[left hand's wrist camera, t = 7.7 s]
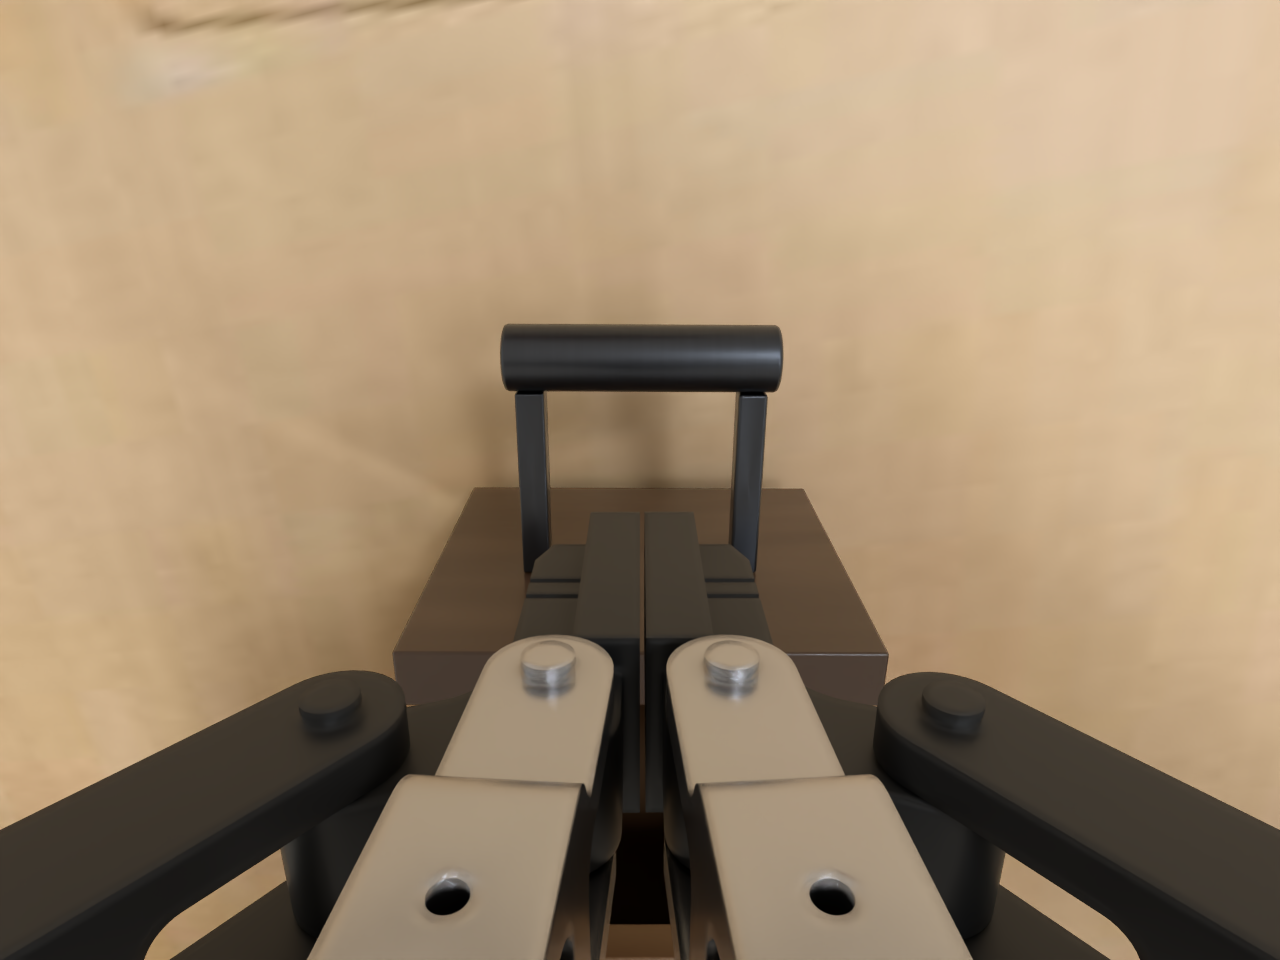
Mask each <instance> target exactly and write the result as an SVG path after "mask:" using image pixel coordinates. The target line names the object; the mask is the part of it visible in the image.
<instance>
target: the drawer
mask: <svg viewBox="0 0 1280 960" xmlns="http://www.w3.org/2000/svg"><path fill="white" fill-rule="evenodd" d="M500 364H501V375H502V381H503V384H504V387H505V389H506V390H508V391H517V392H516V394H515V409H516V429H517V449H518V469H519V488H474V489H473V491H472V493H471V495H470V497H469V499H468V501H467V503H466V505H465V507H464V510H463V512H462V514H461V516H460V518H459V520H458V522H457V524H456V526H455V528H454V530H453V532H452V534H451V536H450V538H449V540H448V542H447V544H446V546H445V548H444V550H443V552H442V554H441V556H440V558H439V560H438V562H437V564H436V566H435V568H434V570H433V572H432V574H431V576H430V578H429V580H428V582H427V584H426V586H425V588H424V590H423V592H422V594H421V596H420V598H419V600H418V602H417V604H416V606H415V608H414V610H413V612H412V614H411V616H410V619H409V621H408V623H407V625H406V627H405V629H404V631H403V633H402V635H401V637H400V639H399V641H398V643H397V645H396V647H395V649H394V651H393V653H392V654H393V662H394V671H395V679H396V682H397V683H398V684H399V685H400V686H401V688H402V689H403V692H404V694H405V701H406V705H421V704H426V703H431V702H436V701H441V700H445V699H449V698H453V697H457V696H460V695H462V694H465V693H468V692H470V691H472V690H474V688H475V686H476V683H477V681H478V679H479V677H480V674H481V672H482V670H483V668H484V666H485V664H486V662H487V661H488V659H489V658H490V657H491V656H492V655H493V654H494V653H496V652H497V651H498V650H500V649H501V648H503V647H505V646H507V645H508V644H511V643H513V640H514V636H515V633H516V629H517V625H518V622H519V618H520V614H521V611H522V607H523V603H524V600H525V598H526V592H527V589H528V585H529V583H530V578H531V574H532V570H533V567H534V563H535V560H536V559H537V558H538V557H540V556H541V555H542V554H543V553H544V552H546V551H547V550H548V549H549V548H550V547H551V546H553V545H554V544H586V540H587V533H588V527H589V520H590V513H591V512H640V813H622V834H621V840H620V843H619V846H618V848H617V850H616V878H615V886H614V894H613V901H612V909H611V917H610V924H670V917H669V909H668V901H667V894H666V886H665V878H664V814H663V812H646V800H645V687H644V512H694V517H695V523H696V530H697V536H698V542H699V544H731V545H732V546H733V547H734V548H735V549H737V550H738V551H739V552H740V553H741V554H743V555H744V556H745V557H746V558H747V559H749V561H750V565H751V568H752V572H753V575H754V581H755V582H756V586H757V589H758V593H759V598H760V600H761V603H762V607H763V610H764V614H765V617H766V621H767V624H768V628H769V631H770V635H771V638H772V642H773V645H774V646H775V647H777V648H779V649H780V650H782V651H783V652H784V653H786V654H787V655H788V656H789V657H790V658H791V659H792V661H793V662H794V664H795V666H796V668H797V670H798V672H799V674H800V677H801V679H802V681H803V683H804V686H806V687H808V688H810V689H812V690H814V691H816V692H819V693H821V694H824V695H827V696H830V697H834V698H838V699H842V700H847V701H852V702H857V703H862V704H867V705H872V706H877V704H878V696H879V694H880V691H881V690H882V688H883V687H884V686H885V678H886V671H887V664H888V656H889V654H888V652H887V650H886V648H885V646H884V644H883V642H882V640H881V638H880V636H879V634H878V632H877V630H876V628H875V627H874V625H873V623H872V621H871V619H870V617H869V615H868V613H867V611H866V609H865V607H864V605H863V603H862V601H861V599H860V598H859V596H858V594H857V592H856V590H855V588H854V586H853V584H852V582H851V580H850V578H849V576H848V574H847V572H846V570H845V569H844V567H843V565H842V563H841V561H840V559H839V557H838V555H837V553H836V551H835V549H834V547H833V545H832V543H831V541H830V540H829V538H828V536H827V534H826V532H825V530H824V528H823V526H822V524H821V522H820V520H819V518H818V516H817V514H816V512H815V511H814V509H813V507H812V505H811V503H810V501H809V499H808V497H807V495H806V493H805V491H804V489H762V476H763V461H764V445H765V430H766V415H767V399H768V397H767V395H766V393H765V392H775V391H777V390H778V388H779V385H780V382H781V377H782V370H783V340H782V334H781V331H780V328H779V327H778V326H776V325H621V324H507V325H505V326H504V328H503V331H502V335H501V344H500ZM547 391H606V392H736V402H735V422H734V441H733V461H732V481H731V489H702V488H550V472H549V444H548V417H547Z"/></svg>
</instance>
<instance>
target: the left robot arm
mask: <svg viewBox="0 0 1280 960" xmlns="http://www.w3.org/2000/svg"><path fill="white" fill-rule="evenodd" d="M644 687H645V800H646V812H663V814H664V878H665V886H666V894H667V901H668V909H669V917H670V925H671V933H672V940H673V948H674V956H675V960H1110V959H1109V958H1107V957H1106V956H1104V955H1103V954H1101V953H1100V952H1098V951H1097V950H1095V949H1094V948H1092V947H1091V946H1089V945H1088V944H1086V943H1085V942H1084V941H1082V940H1081V939H1079V938H1078V937H1076V936H1075V935H1073V934H1072V933H1070V932H1069V931H1067V930H1066V929H1064V928H1063V927H1061V926H1060V925H1059V924H1057V923H1056V922H1054V921H1053V920H1051V919H1050V918H1048V917H1047V916H1045V915H1044V914H1042V913H1041V912H1039V911H1038V910H1036V909H1035V908H1034V907H1032V906H1031V905H1029V904H1028V903H1026V902H1025V901H1023V900H1022V899H1020V898H1019V897H1017V896H1016V895H1014V894H1013V893H1011V892H1010V891H1009V890H1007V889H1006V888H1004V887H1003V886H1001V885H1000V884H999V882H1000V877H1001V872H1002V867H1003V862H1004V858H1005V853H1007V854H1009V855H1011V856H1012V857H1014V858H1015V859H1017V860H1018V861H1020V862H1021V863H1023V864H1024V865H1026V866H1028V867H1029V868H1031V869H1032V870H1034V871H1035V872H1037V873H1038V874H1040V875H1042V876H1043V877H1045V878H1046V879H1048V880H1049V881H1051V882H1052V883H1054V884H1055V885H1057V886H1059V887H1060V888H1062V889H1063V890H1065V891H1066V892H1068V893H1069V894H1071V895H1073V896H1074V897H1076V898H1077V899H1079V900H1080V901H1082V902H1083V903H1085V904H1086V905H1088V906H1090V907H1091V908H1093V909H1094V910H1096V911H1097V912H1099V913H1100V914H1102V915H1103V916H1105V917H1106V918H1108V919H1109V920H1110V921H1111V922H1113V923H1114V924H1115V925H1116V926H1117V927H1118V928H1119V929H1120V930H1121V931H1122V932H1123V933H1124V934H1125V935H1126V937H1127V938H1128V939H1129V941H1130V942H1131V943H1132V945H1133V946H1134V948H1135V950H1136V951H1137V954H1138V956H1139V958H1140V960H1280V830H1279V829H1277V828H1274V827H1272V826H1270V825H1268V824H1266V823H1264V822H1262V821H1260V820H1258V819H1256V818H1254V817H1252V816H1250V815H1248V814H1246V813H1244V812H1242V811H1240V810H1238V809H1236V808H1234V807H1232V806H1230V805H1228V804H1226V803H1224V802H1222V801H1220V800H1218V799H1216V798H1214V797H1212V796H1210V795H1208V794H1206V793H1204V792H1202V791H1200V790H1198V789H1196V788H1194V787H1192V786H1190V785H1188V784H1185V783H1183V782H1181V781H1179V780H1177V779H1175V778H1173V777H1171V776H1169V775H1167V774H1165V773H1163V772H1161V771H1159V770H1157V769H1155V768H1153V767H1151V766H1149V765H1147V764H1145V763H1143V762H1141V761H1139V760H1137V759H1135V758H1133V757H1131V756H1129V755H1127V754H1125V753H1123V752H1121V751H1119V750H1117V749H1115V748H1113V747H1111V746H1109V745H1107V744H1105V743H1103V742H1101V741H1099V740H1096V739H1094V738H1092V737H1090V736H1088V735H1086V734H1084V733H1082V732H1080V731H1078V730H1076V729H1074V728H1072V727H1070V726H1068V725H1066V724H1064V723H1062V722H1060V721H1058V720H1056V719H1054V718H1052V717H1050V716H1048V715H1046V714H1044V713H1042V712H1040V711H1038V710H1036V709H1034V708H1032V707H1030V706H1028V705H1026V704H1024V703H1022V702H1020V701H1018V700H1016V699H1014V698H1012V697H1010V696H1007V695H1005V694H1003V693H1001V692H999V691H997V690H995V689H993V688H991V687H989V686H987V685H985V684H982V683H980V682H978V681H975V680H972V679H969V678H965V677H961V676H957V675H953V674H946V673H937V672H919V673H912V674H907V675H903V676H899V677H897V678H895V679H893V680H891V681H890V682H888V683H887V684H886V685H885V686H884V687H883V688H882V690H881V691H880V694H879V696H878V704H877V706H872V705H867V704H862V703H857V702H852V701H847V700H842V699H838V698H834V697H830V696H827V695H824V694H821V693H819V692H816V691H814V690H812V689H810V688H808V687H806V686H804V683H803V681H802V679H801V677H800V674H799V672H798V670H797V668H796V666H795V664H794V662H793V661H792V659H791V658H790V657H789V656H788V655H787V654H786V653H784V652H783V651H782V650H780V649H779V648H777V647H775V646H774V645H773V642H772V638H771V635H770V631H769V628H768V624H767V621H766V617H765V614H764V610H763V607H762V603H761V600H760V598H759V593H758V589H757V586H756V582H755V581H754V575H753V572H752V568H751V565H750V561H749V559H747V558H746V557H745V556H744V555H743V554H741V553H740V552H739V551H738V550H737V549H735V548H734V547H733V546H732V545H731V544H699V542H698V536H697V530H696V523H695V517H694V512H644ZM622 813H640V512H591V513H590V520H589V527H588V533H587V540H586V544H554V545H553V546H551V547H550V548H549V549H548V550H547V551H546V552H544V553H543V554H542V555H541V556H540V557H538V558H537V559H536V560H535V563H534V567H533V570H532V574H531V578H530V583H529V585H528V589H527V592H526V598H525V600H524V603H523V607H522V611H521V614H520V618H519V622H518V625H517V629H516V633H515V636H514V640H513V643H511V644H508V645H507V646H505V647H503V648H501V649H500V650H498V651H497V652H496V653H494V654H493V655H492V656H491V657H490V658H489V659H488V661H487V662H486V664H485V666H484V668H483V670H482V672H481V674H480V677H479V679H478V681H477V683H476V686H475V688H474V690H472V691H470V692H468V693H465V694H462V695H460V696H457V697H453V698H449V699H445V700H441V701H436V702H431V703H426V704H421V705H416V706H411V707H406V701H405V694H404V692H403V689H402V688H401V686H400V685H399V684H398V683H397V682H396V681H394V680H393V679H392V678H389V677H387V676H385V675H382V674H379V673H375V672H369V671H354V670H352V671H339V672H333V673H327V674H323V675H319V676H316V677H313V678H310V679H307V680H304V681H302V682H299V683H297V684H295V685H293V686H291V687H289V688H287V689H285V690H283V691H281V692H279V693H277V694H275V695H273V696H271V697H268V698H266V699H264V700H262V701H260V702H258V703H256V704H254V705H252V706H250V707H248V708H246V709H244V710H242V711H240V712H238V713H236V714H234V715H232V716H230V717H228V718H226V719H224V720H222V721H220V722H218V723H216V724H214V725H212V726H210V727H208V728H206V729H204V730H202V731H200V732H198V733H196V734H194V735H192V736H190V737H188V738H186V739H184V740H182V741H179V742H177V743H175V744H173V745H171V746H169V747H167V748H165V749H163V750H161V751H159V752H157V753H155V754H153V755H151V756H149V757H147V758H145V759H143V760H141V761H139V762H137V763H135V764H133V765H131V766H129V767H127V768H125V769H123V770H121V771H119V772H117V773H115V774H113V775H111V776H109V777H107V778H105V779H103V780H101V781H99V782H97V783H95V784H93V785H90V786H88V787H86V788H84V789H82V790H80V791H78V792H76V793H74V794H72V795H70V796H68V797H66V798H64V799H62V800H60V801H58V802H56V803H54V804H52V805H50V806H48V807H46V808H44V809H42V810H40V811H38V812H36V813H34V814H32V815H30V816H28V817H26V818H24V819H22V820H20V821H18V822H16V823H14V824H12V825H10V826H8V827H6V828H4V829H2V830H0V960H144V958H145V955H146V953H147V951H148V949H149V947H150V945H151V944H152V942H153V940H154V939H155V937H156V936H157V935H158V934H159V932H160V931H161V930H162V929H163V928H164V927H165V926H166V925H167V924H168V923H169V922H170V921H171V920H172V919H173V918H174V917H176V916H177V915H179V914H180V913H181V912H183V911H184V910H186V909H187V908H189V907H190V906H192V905H194V904H195V903H197V902H198V901H200V900H201V899H203V898H204V897H206V896H208V895H209V894H211V893H212V892H214V891H215V890H217V889H218V888H220V887H221V886H223V885H225V884H226V883H228V882H229V881H231V880H232V879H234V878H235V877H237V876H239V875H240V874H242V873H243V872H245V871H246V870H248V869H249V868H251V867H252V866H254V865H256V864H257V863H259V862H260V861H262V860H263V859H265V858H266V857H268V856H270V855H271V854H273V853H274V852H276V851H277V850H279V849H281V854H282V860H283V865H284V870H285V875H286V881H285V882H283V883H282V884H280V885H279V886H277V887H276V888H274V889H273V890H272V891H270V892H269V893H267V894H266V895H264V896H263V897H261V898H260V899H258V900H257V901H255V902H254V903H252V904H251V905H249V906H248V907H247V908H245V909H244V910H242V911H241V912H239V913H238V914H236V915H235V916H233V917H232V918H230V919H229V920H227V921H226V922H224V923H223V924H221V925H220V926H219V927H217V928H216V929H214V930H213V931H211V932H210V933H208V934H207V935H205V936H204V937H202V938H201V939H199V940H198V941H196V942H195V943H194V944H192V945H191V946H189V947H188V948H186V949H185V950H183V951H182V952H180V953H179V954H177V955H176V956H174V957H173V958H171V959H170V960H605V956H606V948H607V940H608V933H609V925H610V917H611V909H612V901H613V894H614V886H615V878H616V850H617V848H618V846H619V843H620V840H621V834H622Z"/></svg>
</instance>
